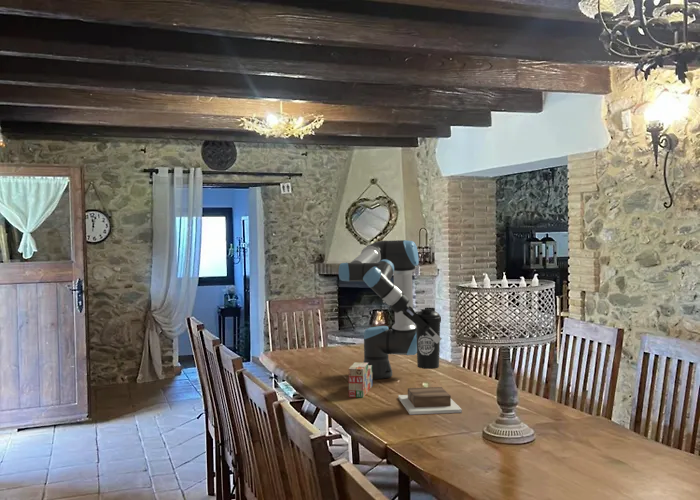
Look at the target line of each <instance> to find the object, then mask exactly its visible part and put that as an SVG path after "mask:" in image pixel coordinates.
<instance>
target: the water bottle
mask: <svg viewBox="0 0 700 500" xmlns="http://www.w3.org/2000/svg"><path fill="white" fill-rule="evenodd" d="M416 313H417V314H418V316H419V317H420V318H421V319H422V320H423V321H424V322H425V323H426V324H427V325H429V326H430V328H431V329H432V330H433V331H434V332H435V333H436V334H437V335H438V336H439V337H440V338H441V323H442V316H441V315H440V314H439V312H437V311H436V308H435V307H424V308H423V309H420V311H419V312H416ZM425 327H426V326H425ZM423 332H424V330H423V329H422V328H421V327H420V326H419V325H418V324H417V323H416V337H417V353H416V359H417V360H416V363H417V365H416V366H417V368H419V369H424V370H434V369H439V368H440V351H441V350H440V343H441V340H440V341H439V342H438V343H437V344H436V343H435V342H434V341H433V340H432V339H431V338H430V337H429V336H428V335H427V334H426V333H423Z"/></svg>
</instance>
